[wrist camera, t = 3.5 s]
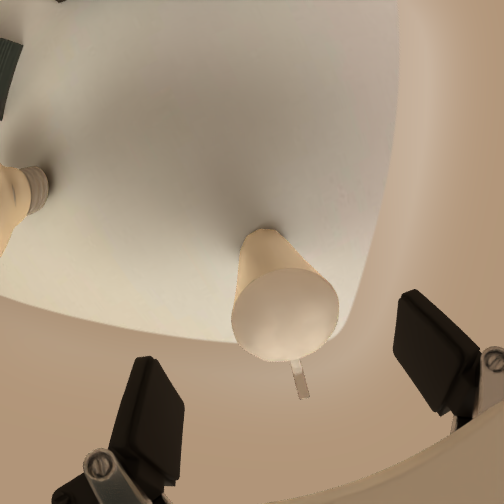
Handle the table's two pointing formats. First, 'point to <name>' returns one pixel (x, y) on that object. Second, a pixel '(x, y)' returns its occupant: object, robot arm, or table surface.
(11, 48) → the cassette player
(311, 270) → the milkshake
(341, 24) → the table surface
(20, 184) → the light bulb
